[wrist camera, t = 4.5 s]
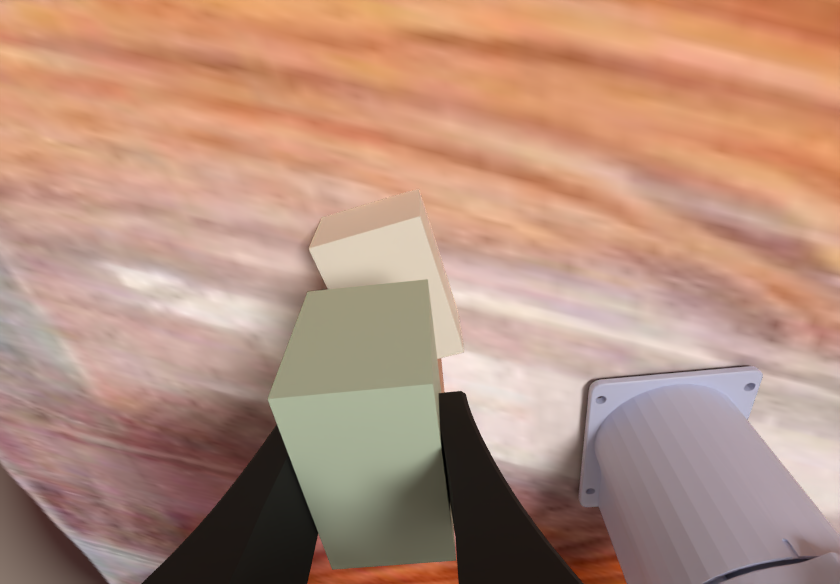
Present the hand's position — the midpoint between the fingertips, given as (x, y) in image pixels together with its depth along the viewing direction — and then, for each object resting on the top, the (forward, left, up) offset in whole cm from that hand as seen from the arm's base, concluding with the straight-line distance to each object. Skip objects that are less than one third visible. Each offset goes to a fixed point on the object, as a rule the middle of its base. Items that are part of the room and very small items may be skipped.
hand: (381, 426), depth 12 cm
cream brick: (0, 0, -9) cm, 9 cm away
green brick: (0, 0, -2) cm, 2 cm away
